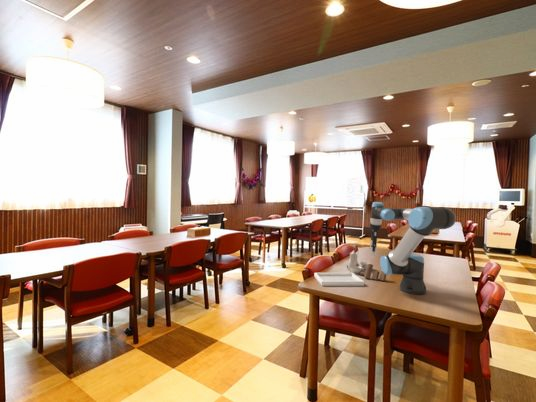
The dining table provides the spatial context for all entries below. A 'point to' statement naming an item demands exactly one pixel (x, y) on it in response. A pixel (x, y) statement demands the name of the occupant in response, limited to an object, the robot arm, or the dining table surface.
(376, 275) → the wooden block set
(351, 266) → the chinaware
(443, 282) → the dining table surface
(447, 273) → the dining table surface
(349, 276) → the pocket tray
